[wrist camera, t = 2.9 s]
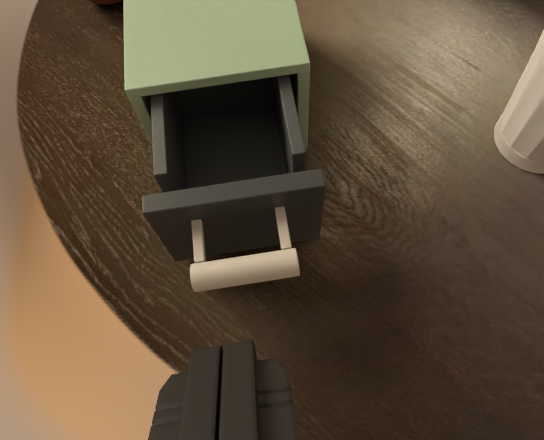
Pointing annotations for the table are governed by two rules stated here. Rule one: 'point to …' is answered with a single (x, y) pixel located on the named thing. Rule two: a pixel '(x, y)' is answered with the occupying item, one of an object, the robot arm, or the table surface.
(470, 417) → the table surface
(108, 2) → the wooden figurine
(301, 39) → the green drawer cabinet
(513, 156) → the cup
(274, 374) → the robot arm
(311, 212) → the fryer drawer
